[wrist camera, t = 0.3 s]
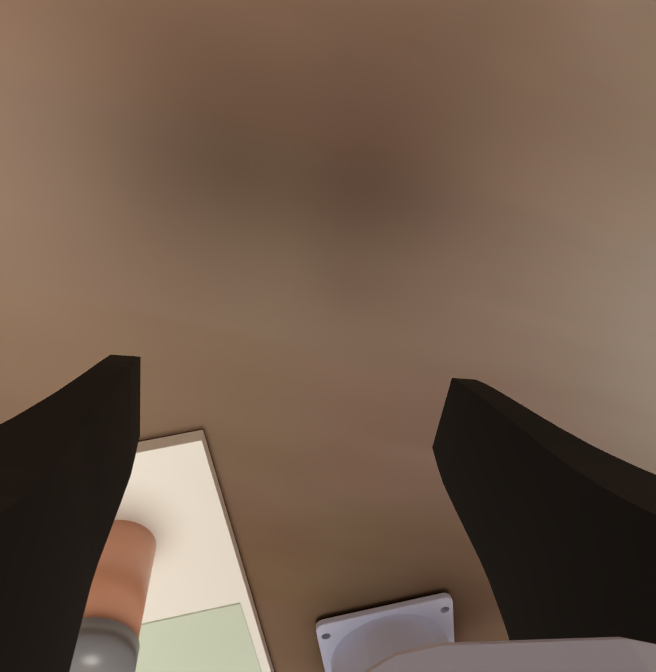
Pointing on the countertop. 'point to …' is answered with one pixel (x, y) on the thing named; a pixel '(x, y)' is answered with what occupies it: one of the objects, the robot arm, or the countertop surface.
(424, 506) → the countertop surface
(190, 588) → the white sorting board
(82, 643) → the cylinder
